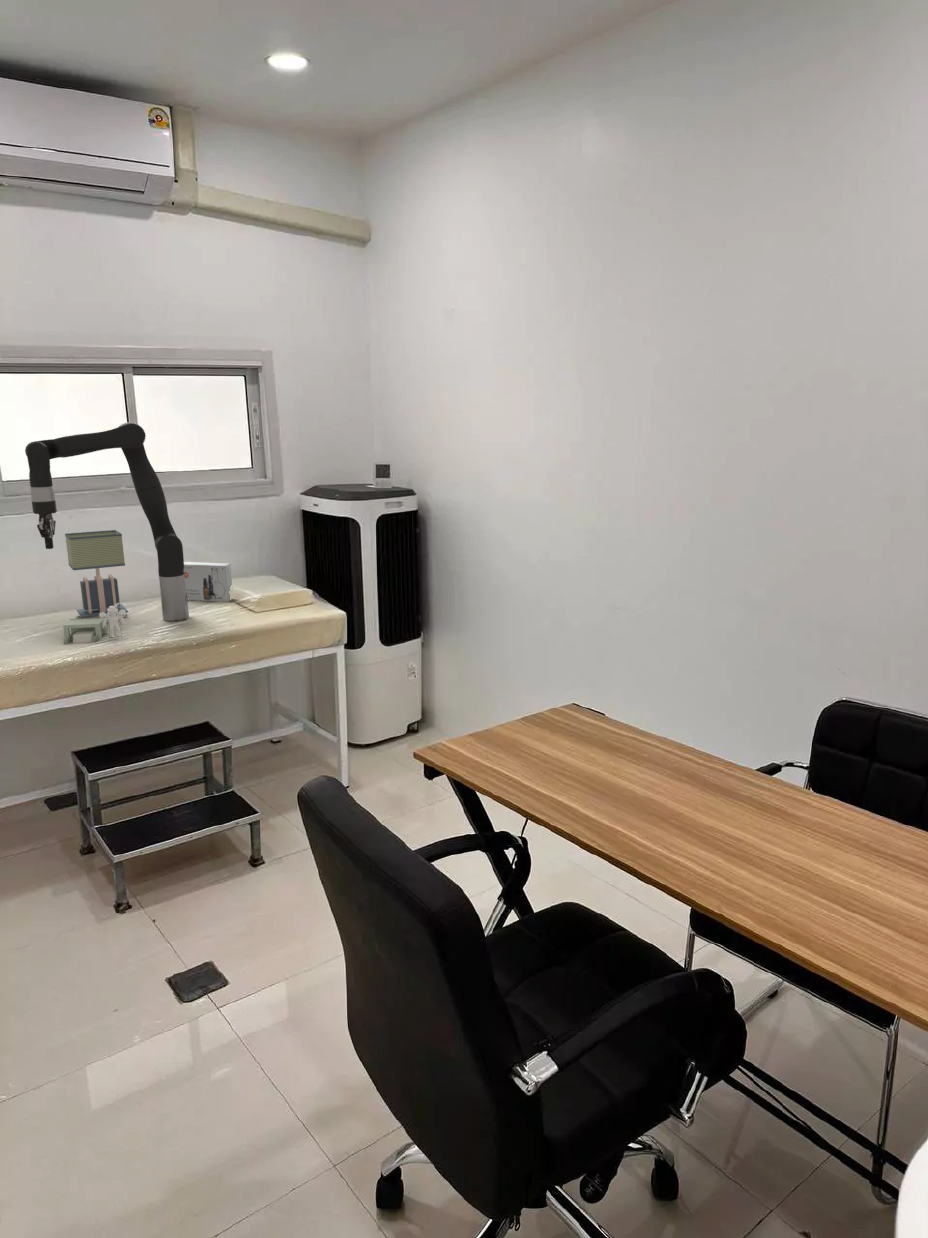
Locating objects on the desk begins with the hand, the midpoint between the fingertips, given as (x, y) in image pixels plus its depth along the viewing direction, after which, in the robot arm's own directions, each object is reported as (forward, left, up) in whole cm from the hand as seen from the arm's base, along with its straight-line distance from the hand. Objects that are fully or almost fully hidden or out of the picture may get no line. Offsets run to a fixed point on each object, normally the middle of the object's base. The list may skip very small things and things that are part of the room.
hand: (49, 548), depth 293 cm
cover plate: (-12, +10, -31) cm, 35 cm away
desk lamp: (-9, -23, -31) cm, 40 cm away
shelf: (-11, +10, -31) cm, 34 cm away
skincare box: (-46, -46, -31) cm, 72 cm away
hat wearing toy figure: (-21, +9, -31) cm, 39 cm away
